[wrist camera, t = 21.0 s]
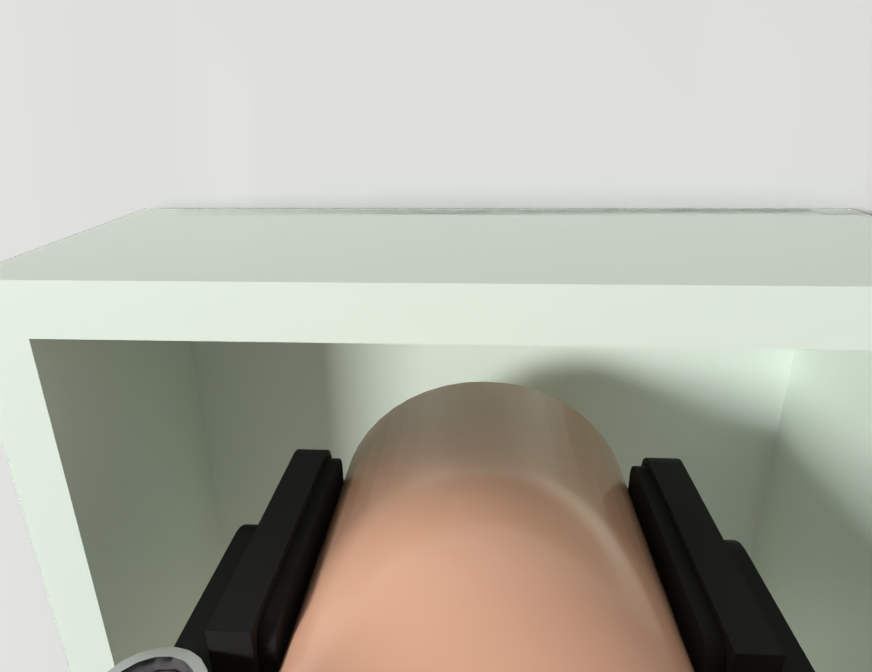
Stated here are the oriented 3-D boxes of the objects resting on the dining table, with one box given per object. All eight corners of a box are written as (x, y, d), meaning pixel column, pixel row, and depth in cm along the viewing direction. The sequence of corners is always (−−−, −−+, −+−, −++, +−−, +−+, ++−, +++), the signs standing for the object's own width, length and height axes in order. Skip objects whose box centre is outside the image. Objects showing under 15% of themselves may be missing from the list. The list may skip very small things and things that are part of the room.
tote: (712, 824, 18) (791, 1074, 14) (248, 796, 19) (175, 1024, 15) (851, 208, 12) (1088, 288, 7) (144, 208, 13) (-47, 279, 8)
